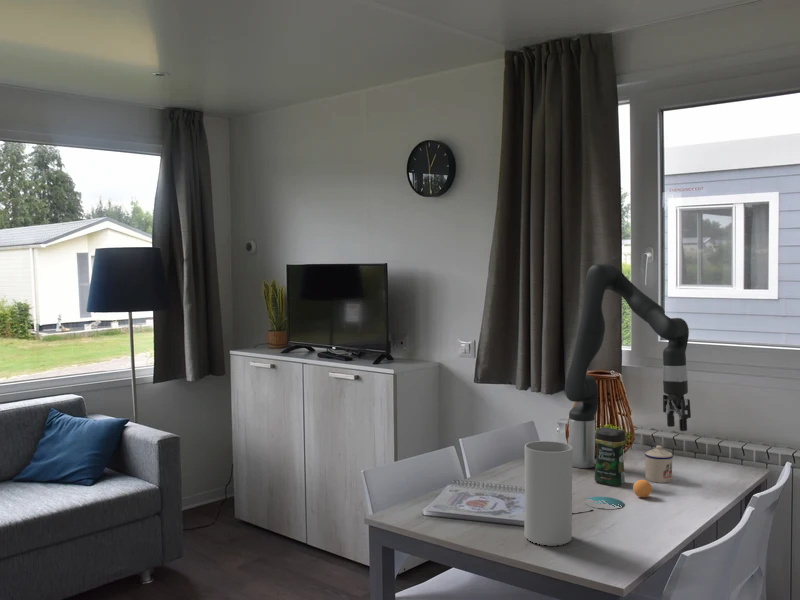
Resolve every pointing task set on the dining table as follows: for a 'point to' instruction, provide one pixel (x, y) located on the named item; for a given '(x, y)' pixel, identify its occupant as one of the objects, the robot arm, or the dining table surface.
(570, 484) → the cylinder vase
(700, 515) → the dining table surface
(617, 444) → the coffee jar
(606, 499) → the teal mark
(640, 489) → the ball
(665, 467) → the teacup with lid
